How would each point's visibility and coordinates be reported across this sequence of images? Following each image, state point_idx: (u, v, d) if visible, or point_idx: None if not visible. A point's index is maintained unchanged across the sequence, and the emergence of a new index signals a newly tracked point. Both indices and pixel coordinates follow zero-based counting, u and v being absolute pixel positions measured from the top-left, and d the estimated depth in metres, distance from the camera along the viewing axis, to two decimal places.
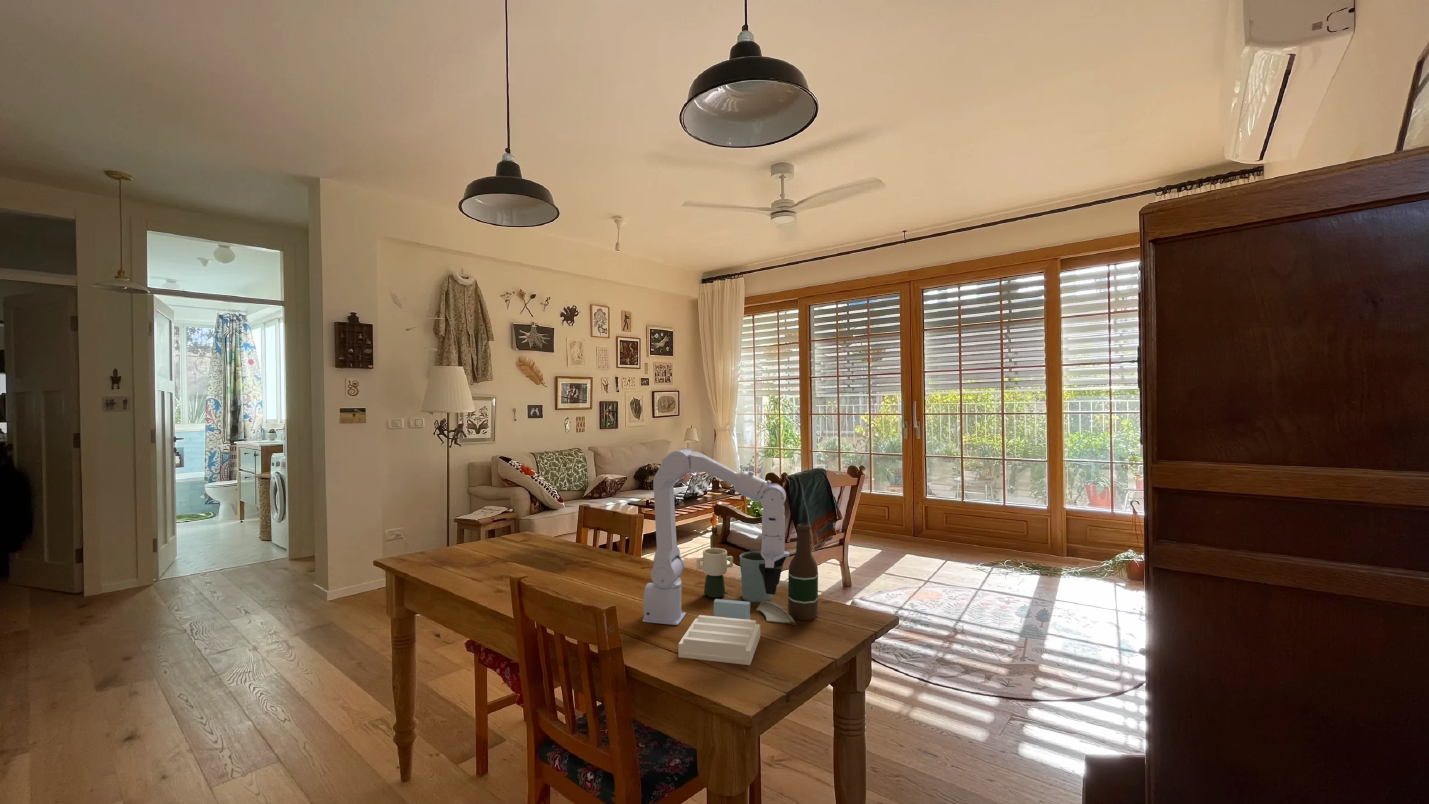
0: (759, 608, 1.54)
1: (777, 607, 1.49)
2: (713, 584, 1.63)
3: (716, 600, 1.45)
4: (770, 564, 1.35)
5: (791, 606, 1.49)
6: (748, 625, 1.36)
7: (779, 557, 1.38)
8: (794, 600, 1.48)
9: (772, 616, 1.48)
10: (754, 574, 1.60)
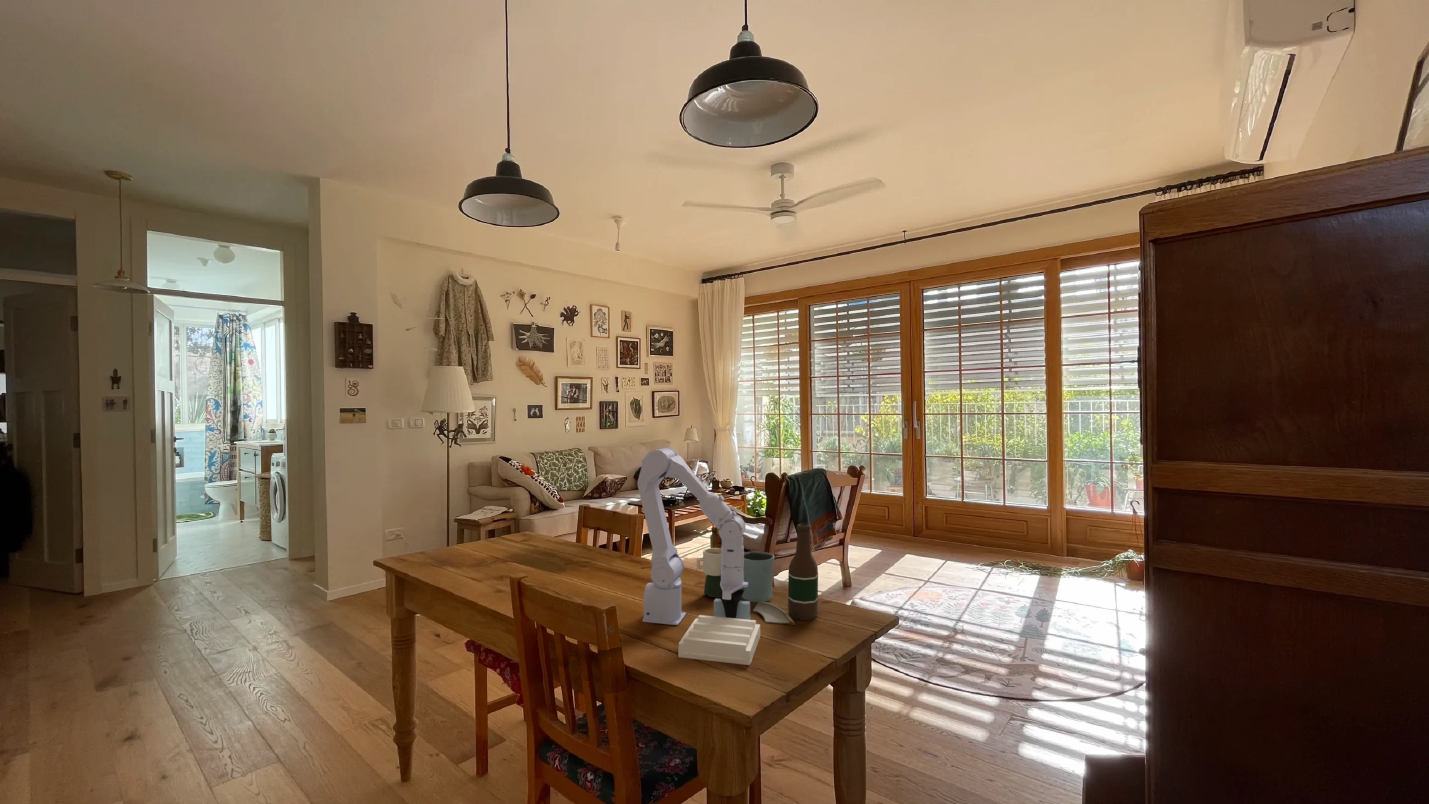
0: (756, 609, 1.53)
1: (775, 608, 1.48)
2: (713, 584, 1.63)
3: (716, 600, 1.45)
4: (727, 596, 1.37)
5: (791, 606, 1.49)
6: (748, 625, 1.36)
7: (737, 588, 1.40)
8: (794, 600, 1.48)
9: (770, 617, 1.47)
10: (754, 574, 1.60)
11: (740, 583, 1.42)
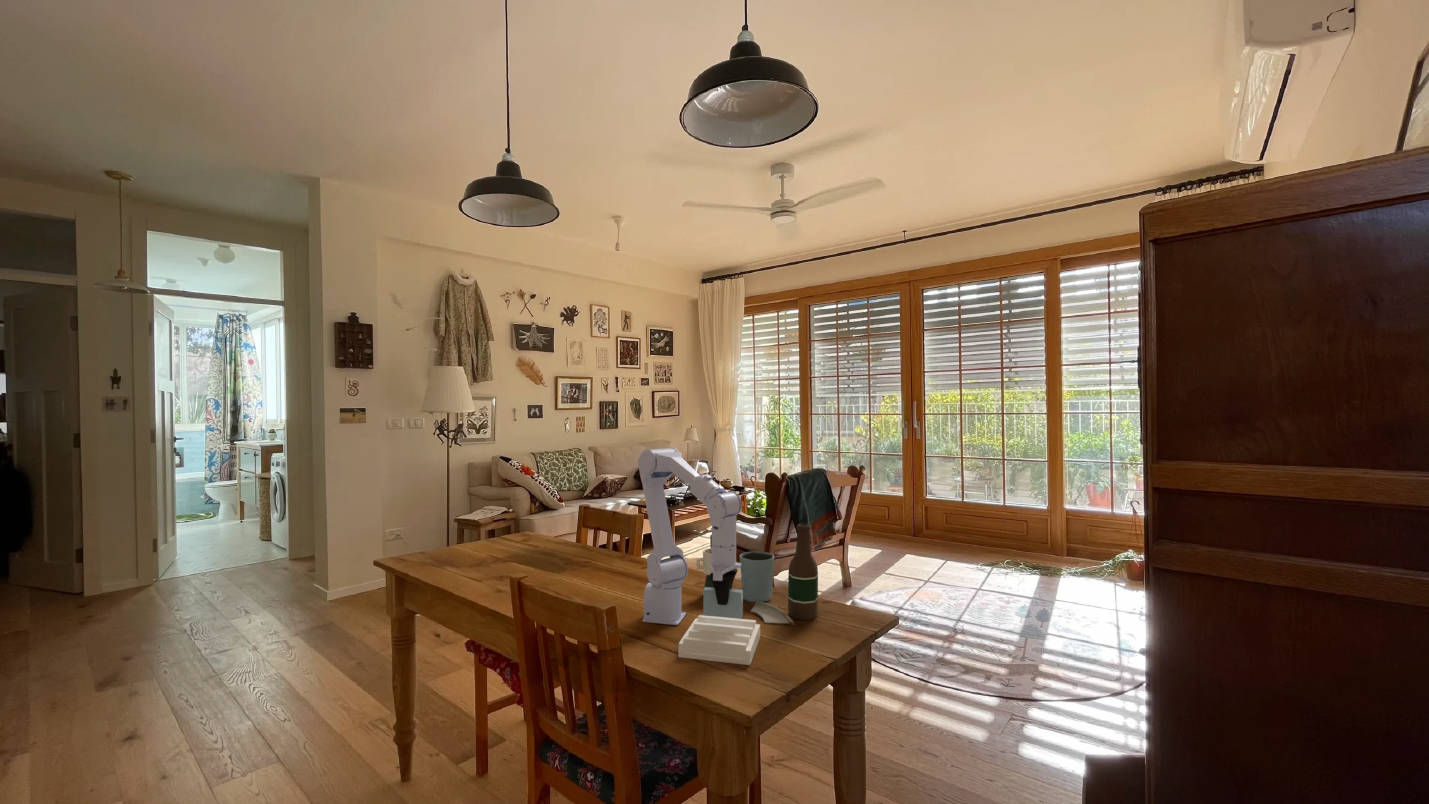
0: (754, 610, 1.52)
1: (774, 608, 1.48)
2: None
3: (706, 588, 1.34)
4: (718, 577, 1.26)
5: (791, 606, 1.49)
6: (748, 625, 1.36)
7: (729, 569, 1.30)
8: (794, 600, 1.48)
9: (769, 617, 1.47)
10: (754, 574, 1.60)
11: (732, 564, 1.31)
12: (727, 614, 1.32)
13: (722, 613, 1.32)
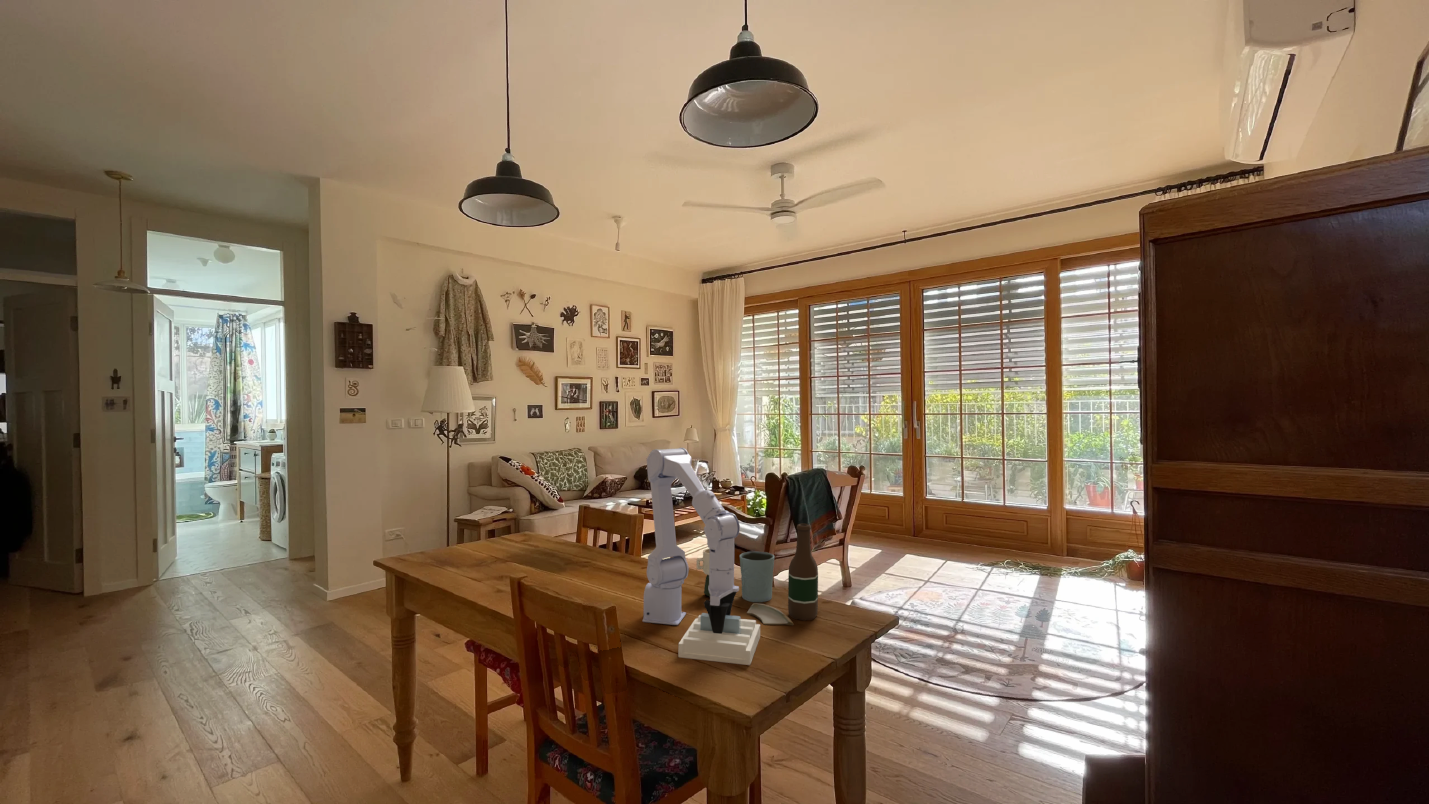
0: (750, 611, 1.52)
1: (772, 609, 1.48)
2: None
3: (703, 614, 1.32)
4: (715, 602, 1.24)
5: (791, 606, 1.49)
6: (748, 625, 1.36)
7: (726, 593, 1.28)
8: (794, 600, 1.48)
9: (768, 618, 1.46)
10: (754, 574, 1.60)
11: (730, 587, 1.29)
12: None
13: None
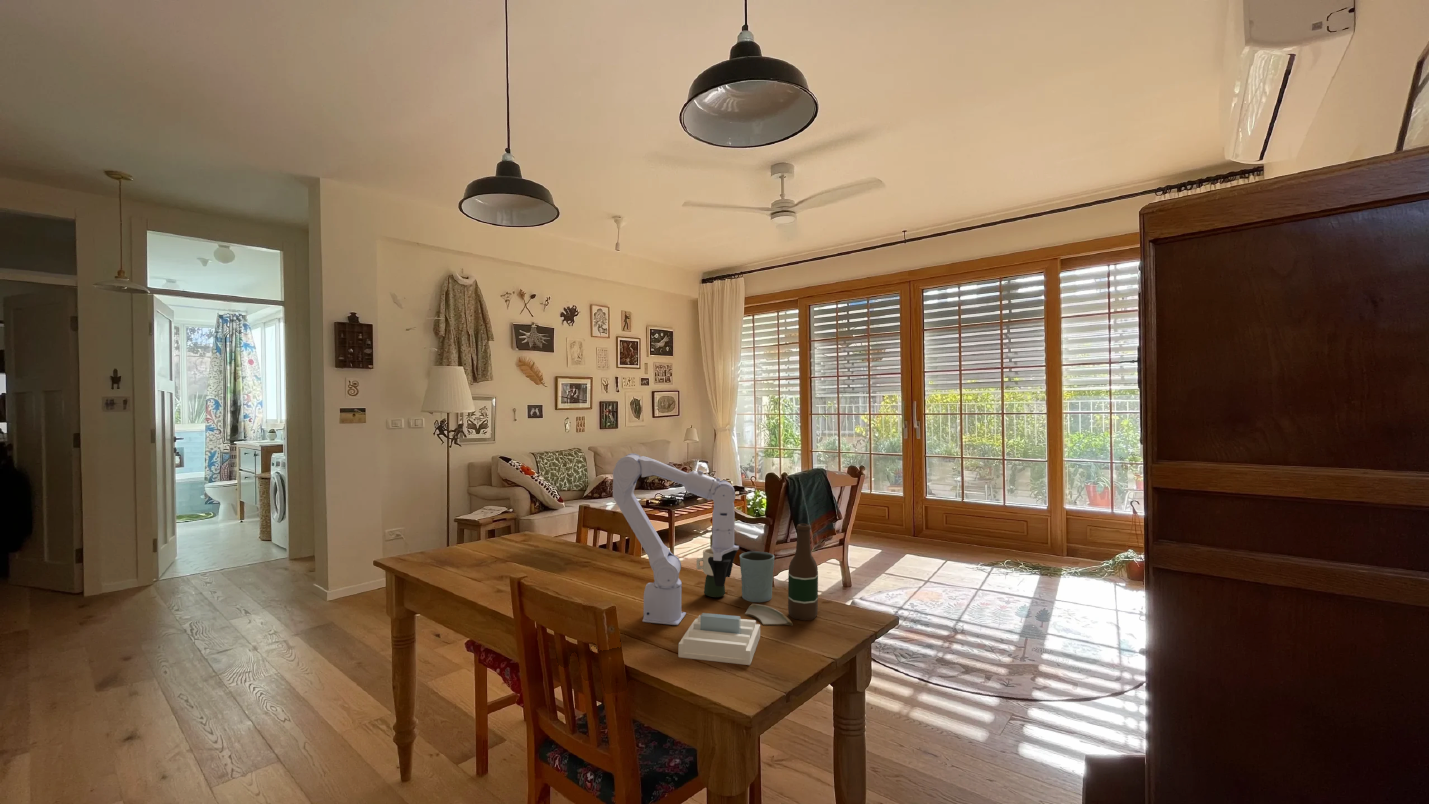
0: (749, 612, 1.51)
1: (770, 609, 1.47)
2: (713, 584, 1.63)
3: (703, 614, 1.32)
4: (718, 557, 1.40)
5: (791, 606, 1.49)
6: (748, 625, 1.36)
7: (728, 551, 1.44)
8: (794, 600, 1.48)
9: (767, 619, 1.46)
10: (754, 574, 1.60)
11: (731, 546, 1.46)
12: None
13: None
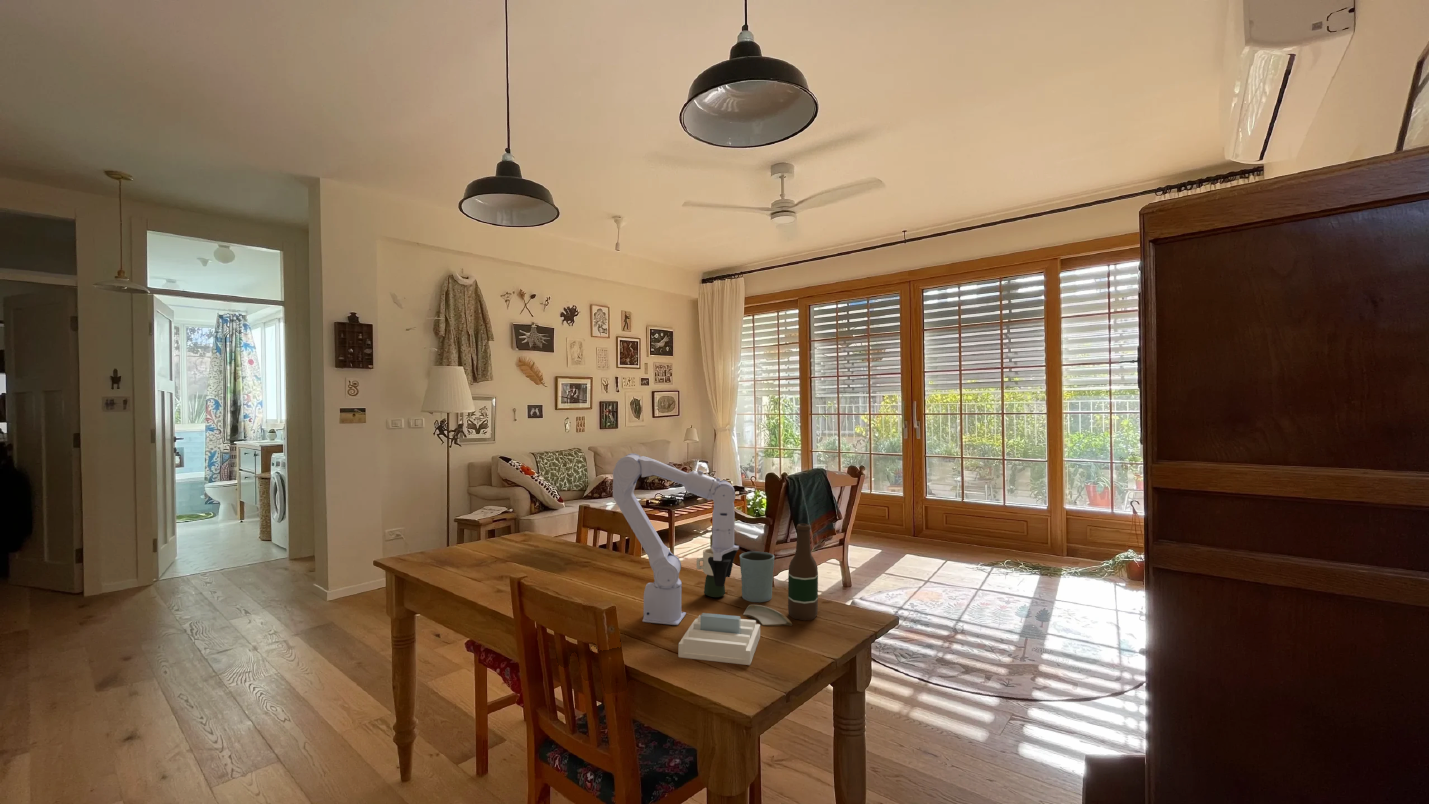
0: (747, 612, 1.50)
1: (769, 609, 1.47)
2: (713, 584, 1.63)
3: (703, 614, 1.32)
4: (718, 557, 1.40)
5: (791, 606, 1.49)
6: (748, 625, 1.36)
7: (728, 551, 1.44)
8: (794, 600, 1.48)
9: (766, 619, 1.45)
10: (754, 574, 1.60)
11: (731, 546, 1.46)
12: None
13: None
